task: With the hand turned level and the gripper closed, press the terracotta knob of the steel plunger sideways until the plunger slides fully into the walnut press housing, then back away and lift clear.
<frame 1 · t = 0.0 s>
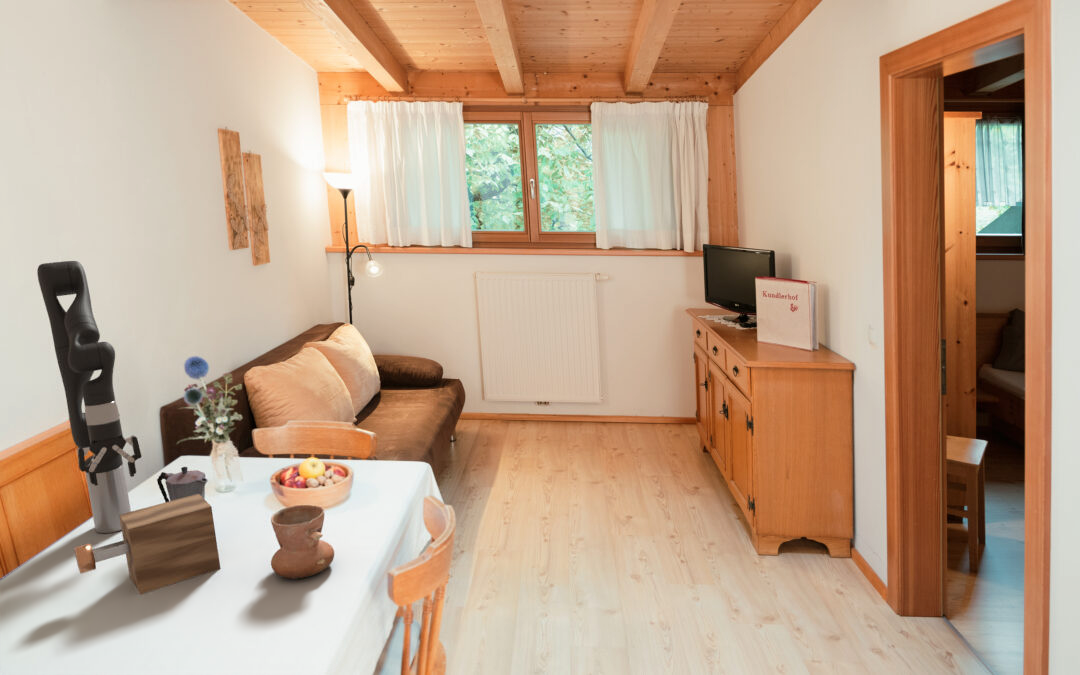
hand: (114, 480, 210), 17 cm above the table, tool pointing down, fingers open, 8 cm apart
moka pot: (190, 539, 213), on the table
ceramic jug: (303, 569, 193), on the table
plunger: (129, 545, 188), point 10 cm above the table, slide at 7.0 cm
press housing: (175, 572, 195), on the table
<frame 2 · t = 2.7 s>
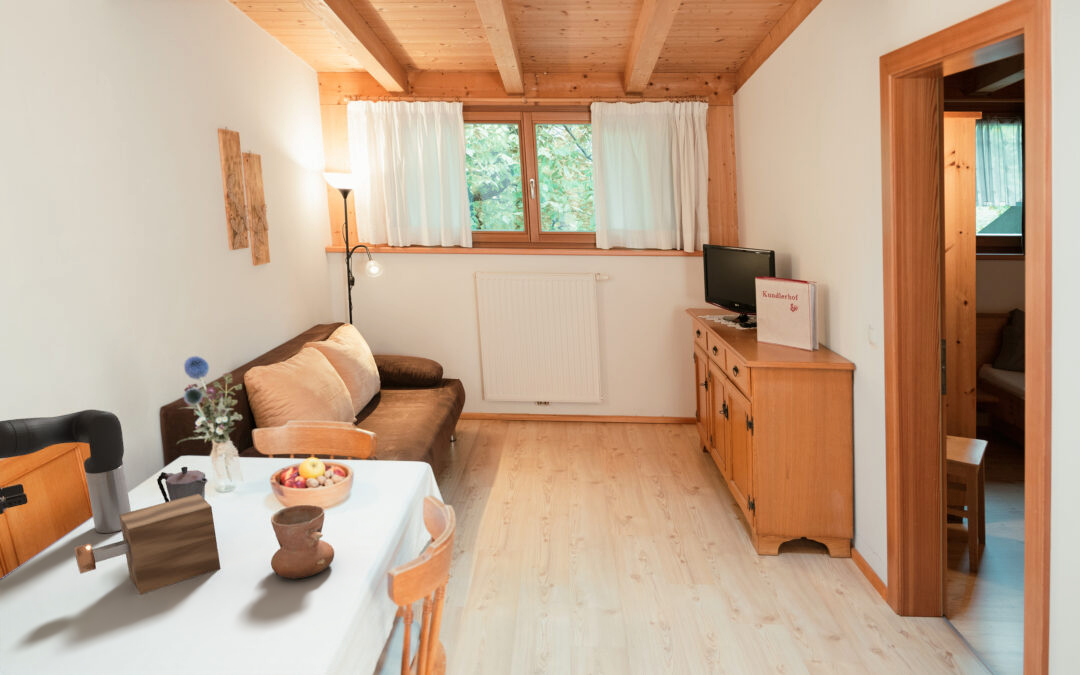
hand: (24, 493, 173), 28 cm above the table, tool horizontal, fingers open, 7 cm apart
nothing on the table moved.
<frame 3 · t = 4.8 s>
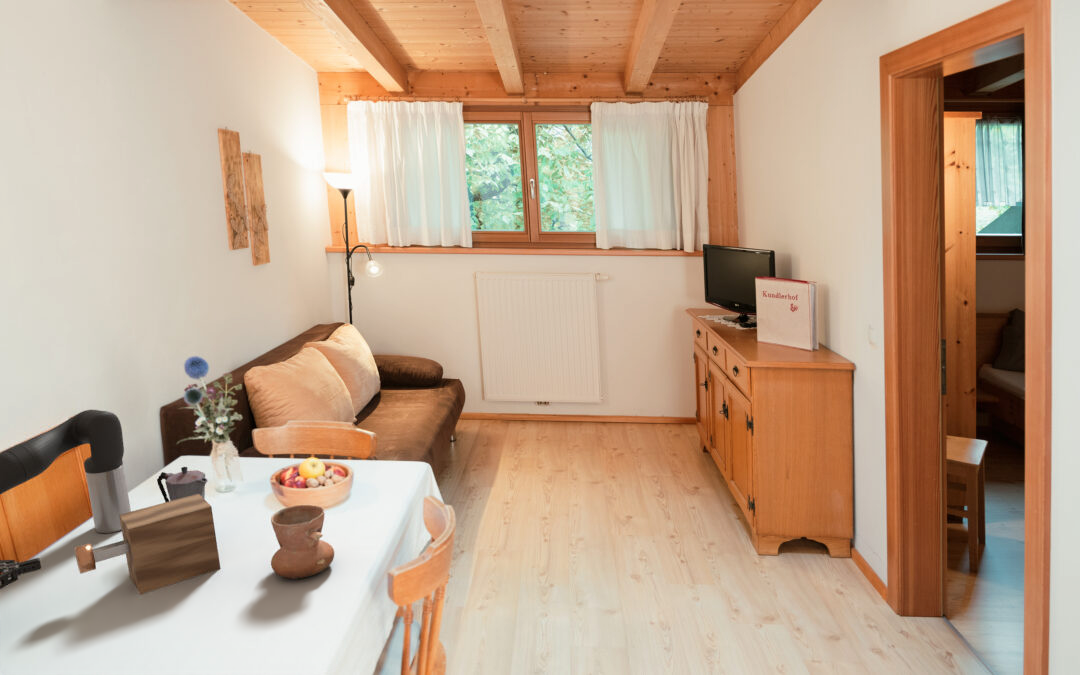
hand: (40, 563, 176), 12 cm above the table, tool horizontal, fingers closed
nothing on the table moved.
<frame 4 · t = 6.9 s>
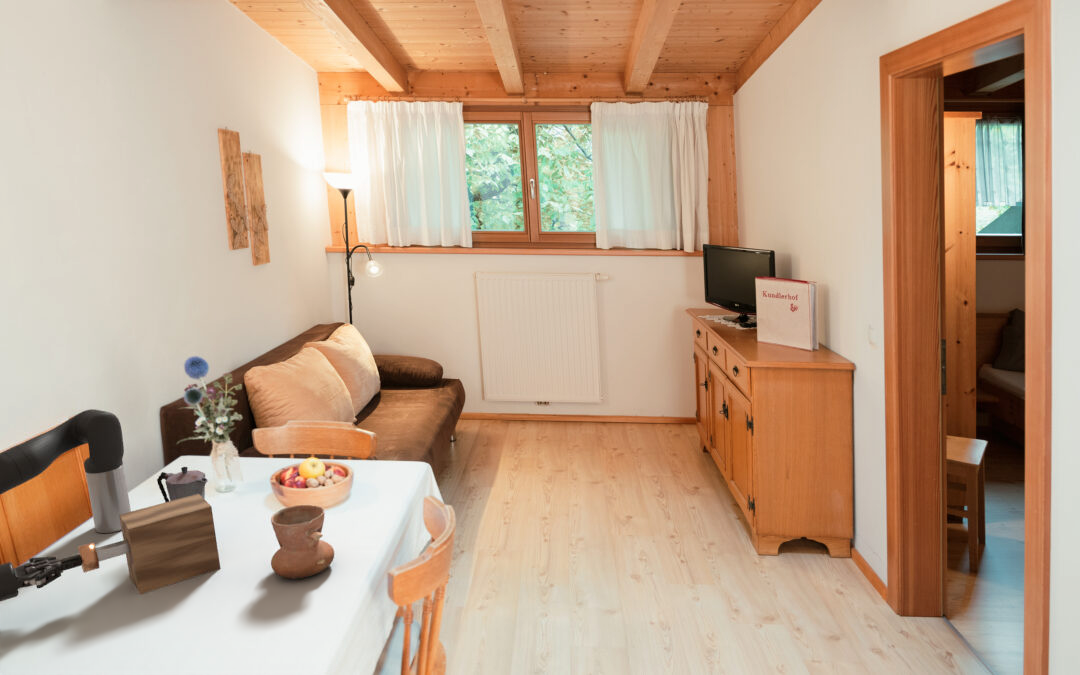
hand: (81, 559, 182), 10 cm above the table, tool horizontal, fingers closed
plunger: (132, 544, 188), point 10 cm above the table, slide at 6.3 cm, touching gripper
everything else where it was.
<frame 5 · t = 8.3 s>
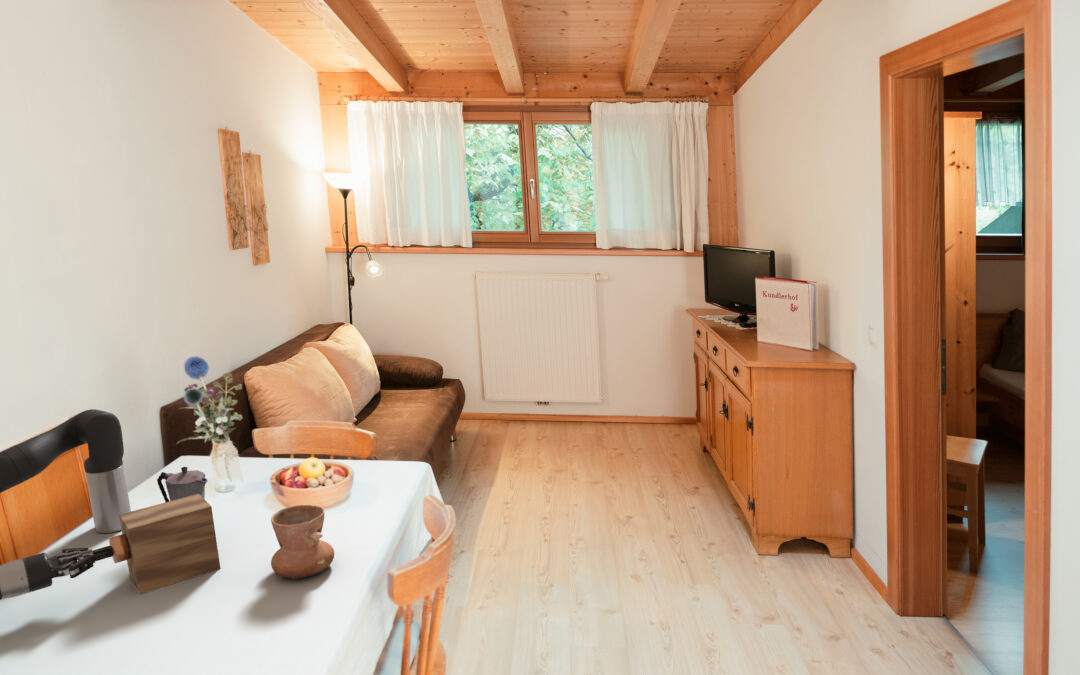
hand: (112, 550, 185), 10 cm above the table, tool horizontal, fingers closed
plunger: (162, 536, 192), point 10 cm above the table, slide at 0.0 cm, touching gripper
everything else where it was.
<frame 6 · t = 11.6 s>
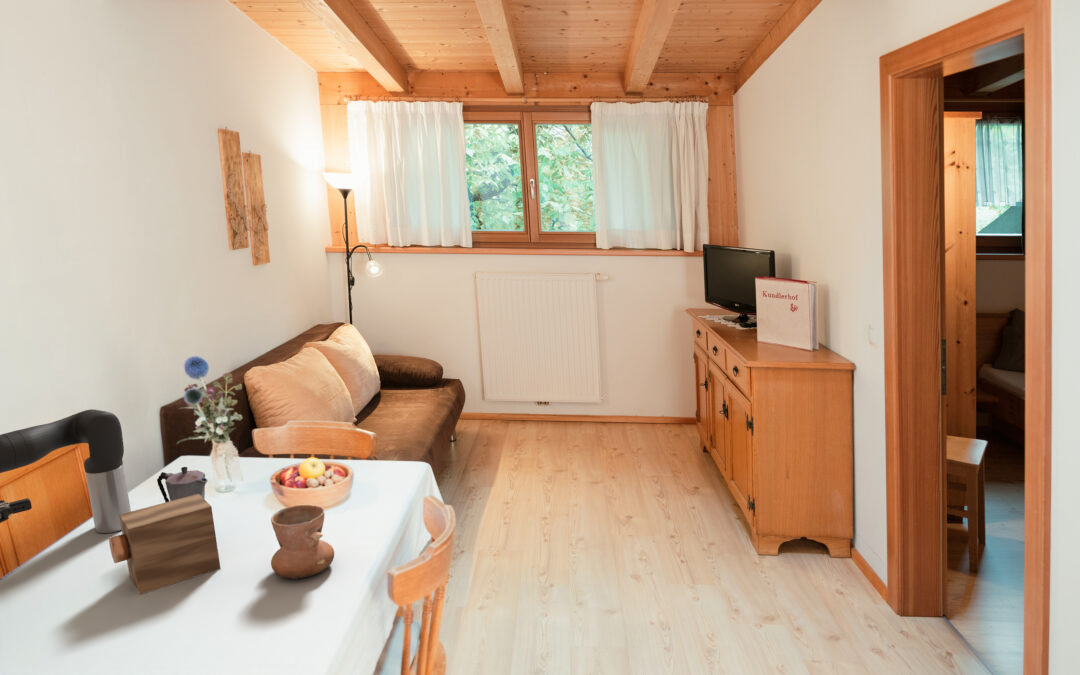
hand: (30, 503, 174), 26 cm above the table, tool horizontal, fingers closed
plunger: (161, 536, 192), point 10 cm above the table, slide at 0.0 cm
everything else where it was.
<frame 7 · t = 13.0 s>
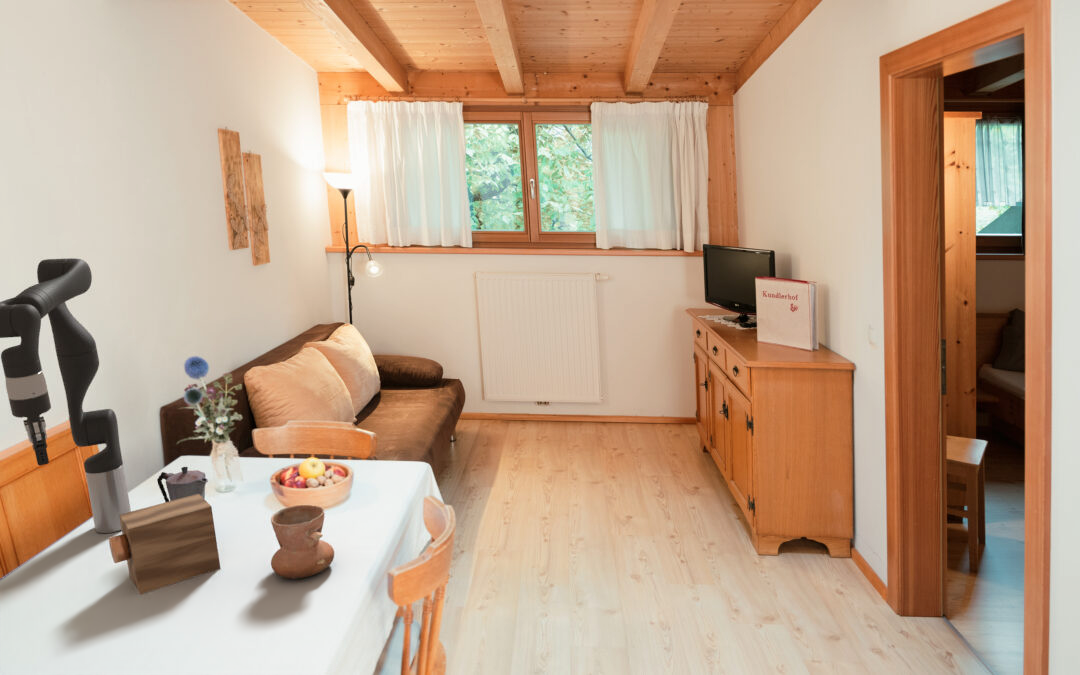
hand: (43, 463, 185), 31 cm above the table, tool pointing down, fingers closed
nothing on the table moved.
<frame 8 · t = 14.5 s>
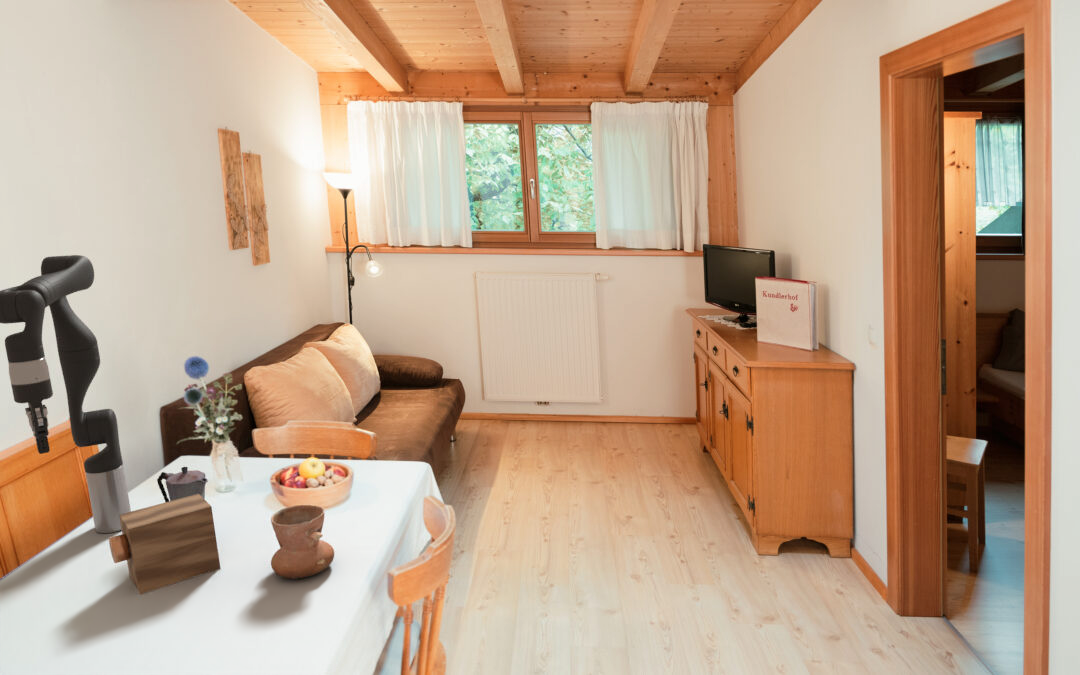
hand: (44, 452, 185), 33 cm above the table, tool pointing down, fingers closed
nothing on the table moved.
at the end: plunger slide at 0.0 cm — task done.
